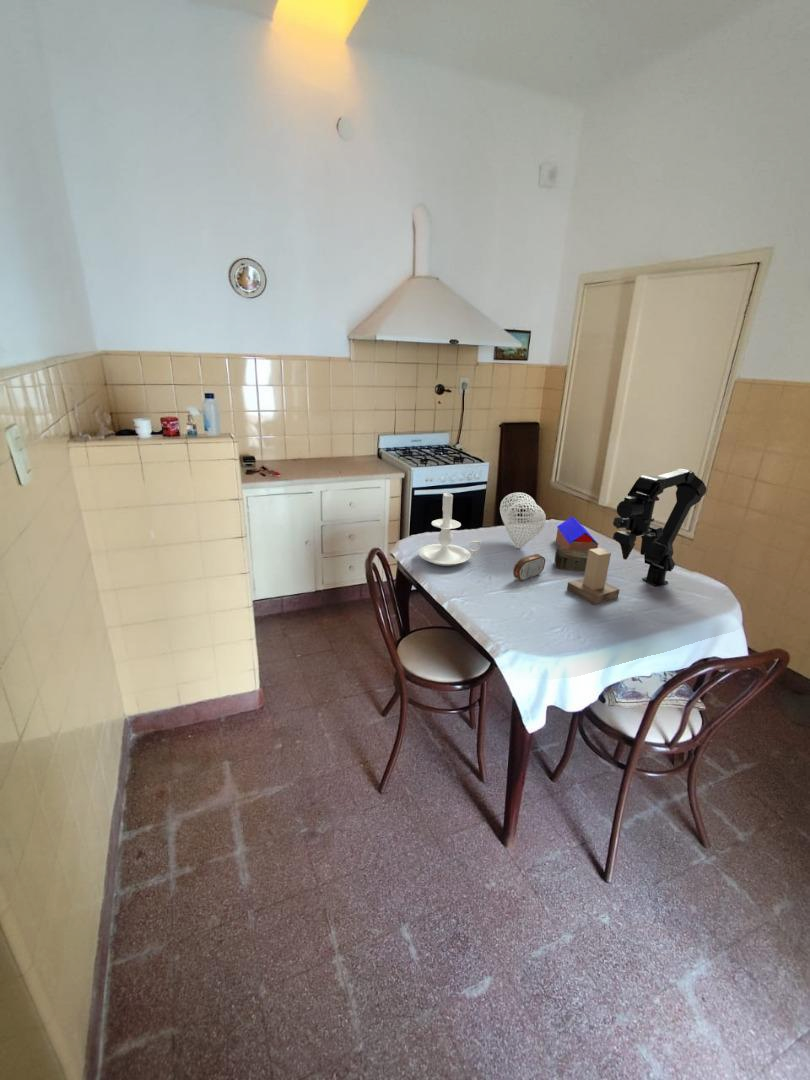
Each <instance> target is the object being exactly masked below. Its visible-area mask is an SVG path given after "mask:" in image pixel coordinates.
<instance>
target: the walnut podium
mask: <svg viewBox="0 0 810 1080" xmlns="http://www.w3.org/2000/svg"><path fill="white" fill-rule="evenodd" d="M583 580H584V577H582V578H578V579H576V580H571V581H568V582H567V587H566V590H567V591H568V592H570V593H572V594H573V595H575V596H578V597H579V598H581V599H582V600H585V601H586V602H589V603H590V604H592V605H594V606H595V605H597V604H601V603H604V602H607V601H610V600H614V599H617V598H618V597H619V596H620V595H619V594H620V588H618V587H616V586H614V585H612V584H610V583H608V582H605V587H604V588H601V589H595V590H592V589H590V588H589V587H587V586H586V585H584V584H583Z"/></svg>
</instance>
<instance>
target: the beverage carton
mask: <svg viewBox="0 0 810 1080" xmlns="http://www.w3.org/2000/svg"><path fill="white" fill-rule="evenodd" d="M588 552H589V551H581V550H571V549H561V548H560V547H559V548H556V550H555V555H554V565H555V568H556V570H562V571H563V570H564V571H565V570H566V571H576V572H584V573H585V569H586V563H587V557H588Z"/></svg>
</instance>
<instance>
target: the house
mask: <svg viewBox="0 0 810 1080" xmlns="http://www.w3.org/2000/svg"><path fill="white" fill-rule="evenodd" d="M556 527H557V531H556V538H555V542H556V541H557V542H556V544H557V545H558V544H559V545H558V546H559V548H560V547H561V549H571V550H581V551H589V549H595V548H599V543H598V541H597V540H596V539H595V538H594V537H593V536H592V535H591V533H590V532H589V531H588V530H587V529H586V528H585V527H584V526H583V525H582V524H581V523H580V522H579V521H578V520H577V519H576V518H574V516H571V517H569V518H568V519H566V520H565V521H564V522H562V523H560V524H559V525H557V526H556Z"/></svg>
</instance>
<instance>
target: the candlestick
mask: <svg viewBox="0 0 810 1080" xmlns="http://www.w3.org/2000/svg"><path fill="white" fill-rule="evenodd" d="M453 500H454V495H453V494H452V493H450V492H443V494H442V510H441V511H442V518H438V519H435V520H432V521H431V523H430V524H431V525H432V526H433V527H435V528H439V529H441V530H440V532H439V533H438V536H437V540H438V543H432V544H428V545H425V546H422V547H421V548H419V550H418V552H417V553H418V556H419V558H421V559H423V560H424V561H427V562H429V563H431V564H434V565H437V566H443V567H444V566H447V567H448V566H449V567H450V566H455V565H459V564H461V563H462V564H463V563H466V562H467V561H468V560H469V559H470V558H471V557H475V555H476V553H477V552H478V551H479V550H480V548H481V545H480V543H482V542H483V541H482V540H473V541H470V542H469V543H468V549H466V548H464V547H463V546H460V545H456V544H451V543H452V542H453V539H454V536H453V534H452V531H451V530H452V529H457V528H460V527H461V526H462V524H461V522H459V521H457V520H455V519H453V518H452V517H453V502H454V501H453ZM473 544H476V545H477V548H475V549H472V548H471V546H472V545H473ZM471 553H472V554H471Z"/></svg>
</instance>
